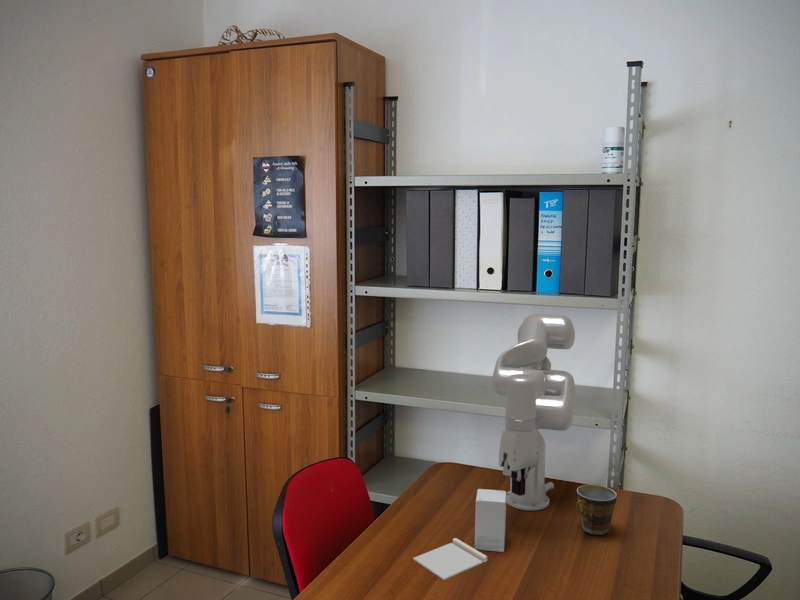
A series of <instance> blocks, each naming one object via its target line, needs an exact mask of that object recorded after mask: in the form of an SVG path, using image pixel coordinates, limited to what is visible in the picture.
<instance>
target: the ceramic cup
mask: <svg viewBox="0 0 800 600" xmlns="http://www.w3.org/2000/svg"><path fill="white" fill-rule="evenodd" d="M576 496H577V502H576V503H575V510H576V512H577V513H579V514H580V521H581V526H582V529H583V532H585V533H589V534H591V535H599V536H603V535H604V534H607V533H609V531H610V527H611V523H612V520H613V514H614V511H615V508H616V503H617V497H618V493H617V492H616V491H615V490H613V489H611V488H609V487H607V486H604V485H599V484H583V485H580V486H578V487H577V489H576Z"/></svg>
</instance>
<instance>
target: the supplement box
mask: <svg viewBox="0 0 800 600" xmlns="http://www.w3.org/2000/svg"><path fill="white" fill-rule="evenodd" d="M506 493H507V491H506V490H501V489H498V490H497V489H484V488H478V489H477V490H476V498H475V511H474V512H475V514H474V516H475V518H474V549H476V550H481V551H488V552H489V551H490V552H500V553H504V552H505V539H506V522H507V517H506V516H507V515H506V514H507V503H506Z"/></svg>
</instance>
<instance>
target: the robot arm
mask: <svg viewBox="0 0 800 600" xmlns="http://www.w3.org/2000/svg"><path fill="white" fill-rule="evenodd" d="M575 339H576V332H575V327H574V324H573V322H572V320H571V319H570V318H569V317H568V316H565V315H561V314H543V313H535V314H534V313H533V314H530V315H528V316H526V317H525V318H524V319H523V321H522V323H520V325H519V327H518V331H517V343H516V344H514V345H512V346H511V347H509V348H507V349H505V350H504V351H503V352H502V353H501V354H500V355H499V356H498V357H497V360H496V362H495V366H494V369H493V372H492V378H491V379H492V380H491V386H492V390H493V391H494V392H495V393H496V394H497V395H499V396H505V416H504V417H505V419H504V429H502V433H501V436H500V437H501V438H500V444H499V451H498V452H499V453H498V465H499V467H501V468H503V469H502V475H504V476H508V477H509V478H510V484H509V485H510V487H509V489H510V490H508V491H506V505H508V506H510V507H512V508H515V509H517V510H521V511H530V512H531V511H541V510H544V509H546V508H548V507H549V505H550V498H549V496H548V495H547V492H548V491H550V490H552V489H554V488H555V484H554V483H553V482H552V481H549V482H547V483H545V478H546V477H545V475H546V469H545V467H546V440H545V438H544V437H543V436H542V434H541V432H540V431H539V430H546V431H549V430H550V431H559V432H561V431H562V432H563V431H567V430H568V429H570V427H571V426H572V424H573V423H572V422H573V418H574V405H575V393H576V390H575V388H576V385H575V380H574V376H573V375H572V374H571V373H570V372H569V371H565V370H560V369H559V370H557V369H556V370H555V369H552V363H551V361H550V359H549V357H548V356H547V355H548V349H549V350H570V349H571V348H573V346H574V343H575Z"/></svg>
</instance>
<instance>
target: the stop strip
mask: <svg viewBox="0 0 800 600" xmlns="http://www.w3.org/2000/svg"><path fill="white" fill-rule="evenodd" d="M452 544H454V545H456V546H457V547H459V548H461V549H462V550H464V551H466V552H467V553H469V554H471V555H472V556H474V557H476V558H477V559H479V560H481V561H482V562H483V563H486V562H488V556H487V555H485V554H484V553H482V552H481V551H478V549H475V547H472V546H470V545H468V544H467V543H466V542H463V541H462V540H460V539H458V538H457V537H454V538H452Z"/></svg>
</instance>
